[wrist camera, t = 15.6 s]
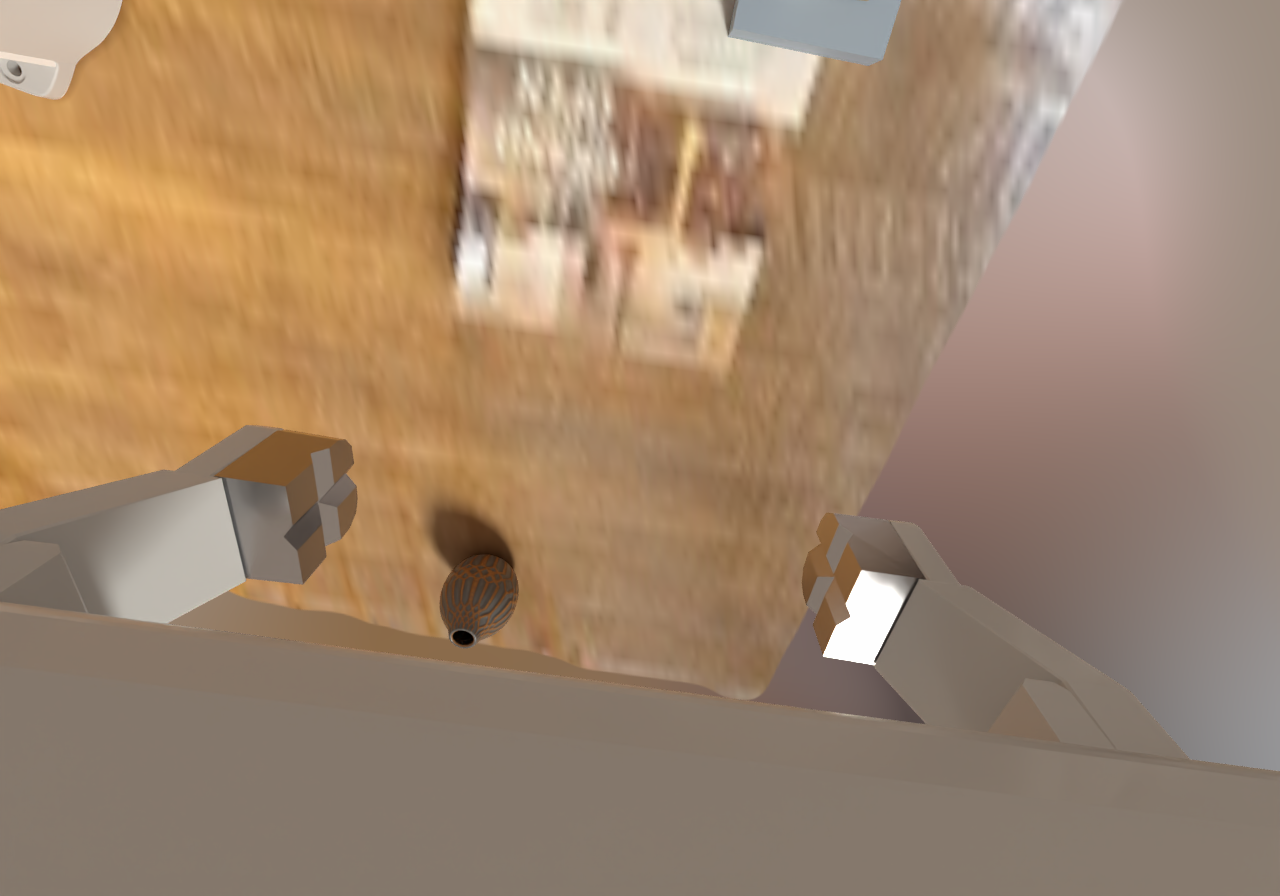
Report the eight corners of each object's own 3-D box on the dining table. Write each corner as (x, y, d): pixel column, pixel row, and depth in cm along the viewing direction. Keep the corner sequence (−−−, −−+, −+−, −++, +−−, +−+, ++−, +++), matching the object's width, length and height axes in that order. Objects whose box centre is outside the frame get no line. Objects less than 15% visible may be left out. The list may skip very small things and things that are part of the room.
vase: (457, 592, 56) (425, 662, 48) (453, 539, 53) (419, 604, 45) (524, 600, 56) (503, 670, 49) (525, 546, 53) (502, 613, 45)
